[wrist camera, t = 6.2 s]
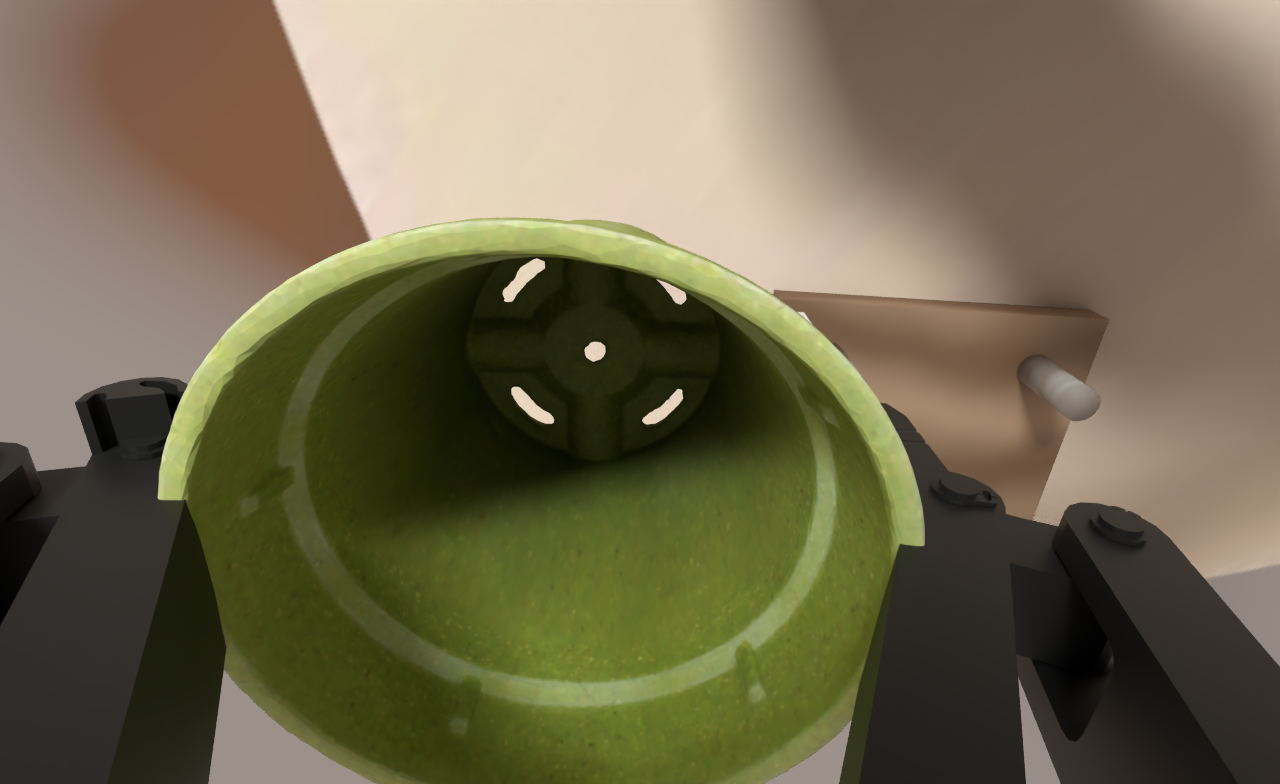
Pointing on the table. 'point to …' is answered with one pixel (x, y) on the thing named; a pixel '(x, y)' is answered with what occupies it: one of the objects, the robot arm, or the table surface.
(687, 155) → the table surface
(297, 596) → the plant pot
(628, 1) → the table surface
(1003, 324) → the stand
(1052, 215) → the table surface
